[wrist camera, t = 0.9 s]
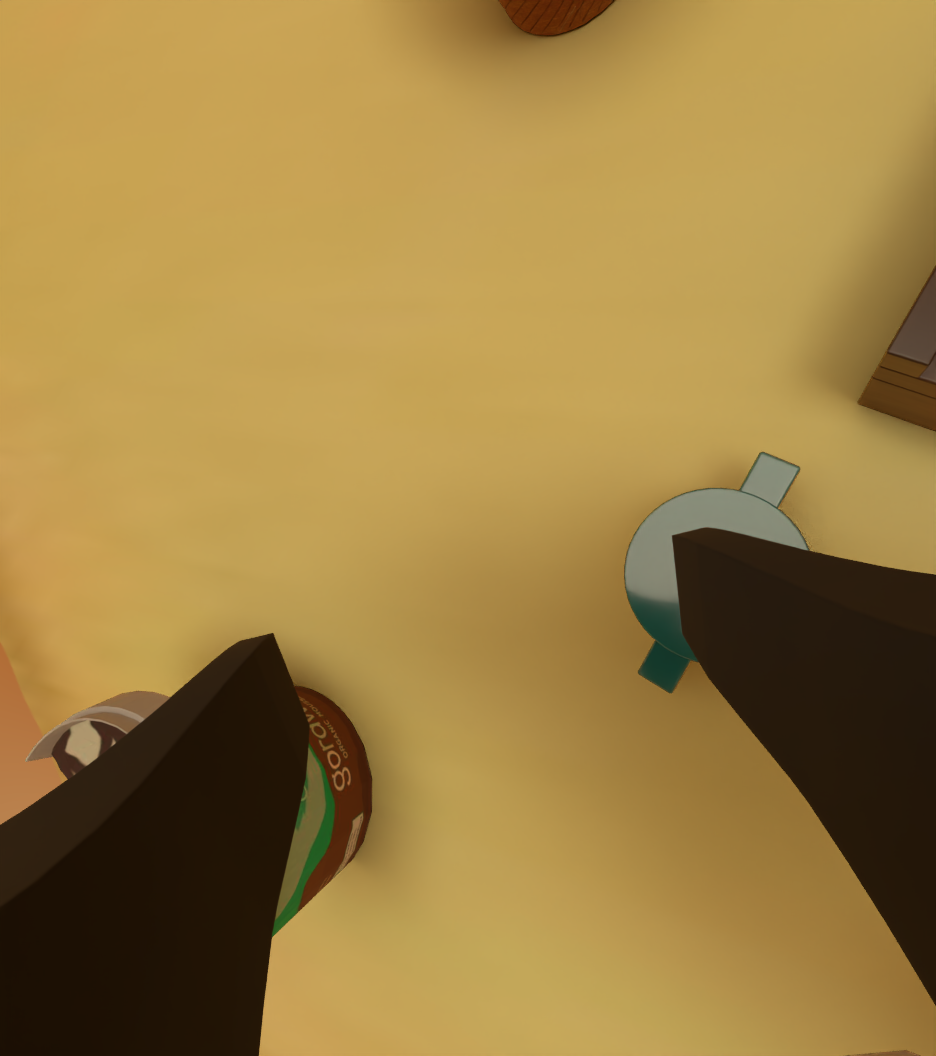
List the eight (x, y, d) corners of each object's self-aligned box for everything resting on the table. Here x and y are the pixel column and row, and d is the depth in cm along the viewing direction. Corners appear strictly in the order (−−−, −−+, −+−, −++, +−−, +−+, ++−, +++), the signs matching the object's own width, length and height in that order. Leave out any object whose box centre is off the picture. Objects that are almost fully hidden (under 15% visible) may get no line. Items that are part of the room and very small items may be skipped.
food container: (445, 793, 27) (280, 913, 18) (372, 886, 28) (185, 1040, 19) (279, 609, 31) (82, 630, 22) (224, 697, 33) (18, 750, 24)
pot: (857, 507, 20) (884, 492, 15) (739, 704, 22) (731, 747, 17) (708, 445, 22) (691, 414, 18) (609, 627, 24) (568, 645, 19)
